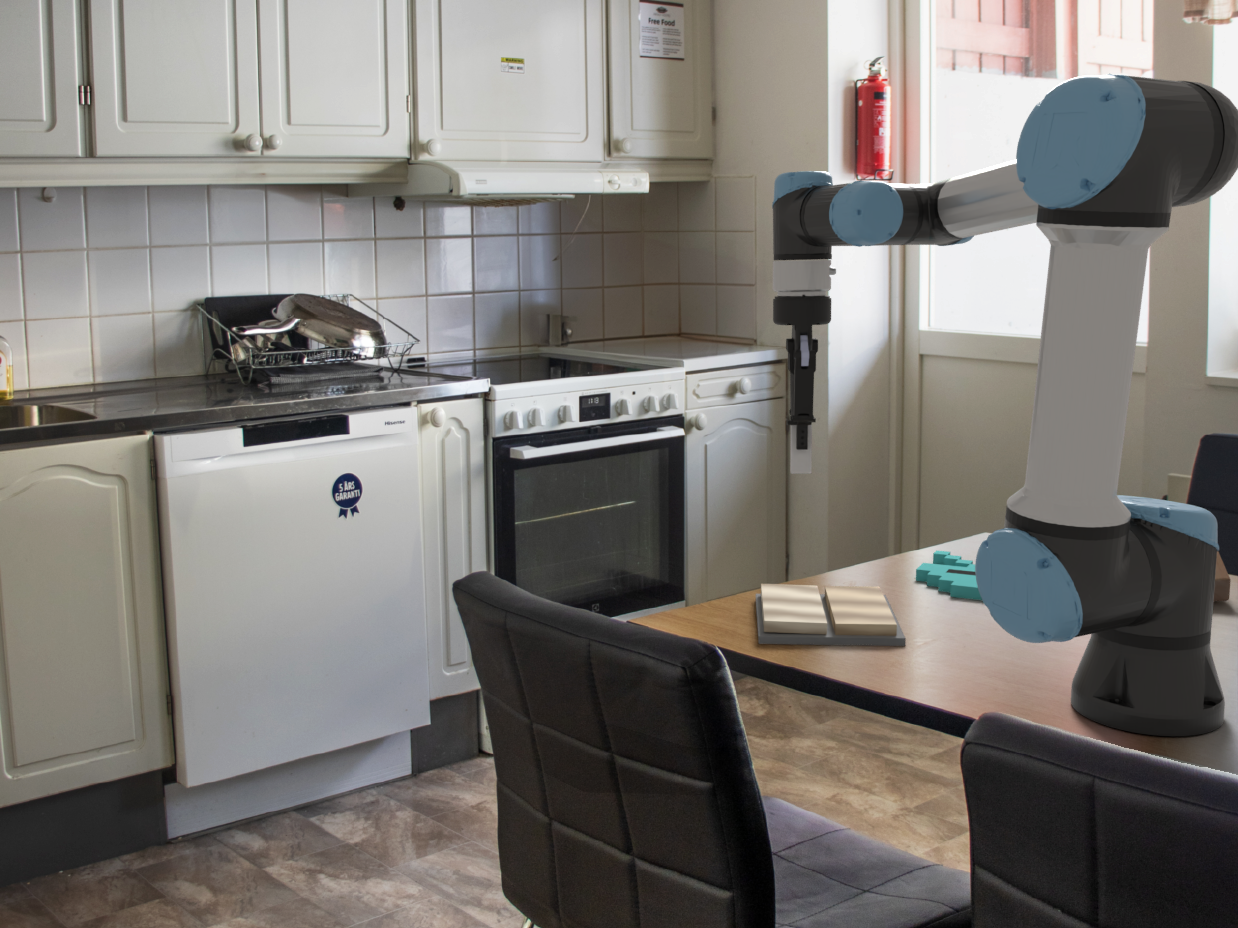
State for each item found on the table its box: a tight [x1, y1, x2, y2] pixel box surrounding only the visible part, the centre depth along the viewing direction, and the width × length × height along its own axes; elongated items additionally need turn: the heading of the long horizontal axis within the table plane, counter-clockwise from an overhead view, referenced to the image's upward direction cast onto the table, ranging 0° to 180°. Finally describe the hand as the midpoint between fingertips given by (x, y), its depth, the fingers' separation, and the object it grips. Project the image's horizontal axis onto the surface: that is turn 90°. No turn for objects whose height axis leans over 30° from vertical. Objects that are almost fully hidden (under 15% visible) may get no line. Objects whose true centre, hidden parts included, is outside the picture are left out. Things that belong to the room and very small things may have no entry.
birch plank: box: [760, 583, 827, 634], centre depth 163 cm, size 18×8×2 cm, turn 175°
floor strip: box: [824, 585, 897, 636], centre depth 162 cm, size 18×8×2 cm, turn 175°
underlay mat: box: [755, 593, 907, 647], centre depth 162 cm, size 20×18×1 cm
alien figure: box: [915, 550, 983, 601], centre depth 181 cm, size 20×2×20 cm
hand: (800, 472), depth 160 cm, fingers closed
